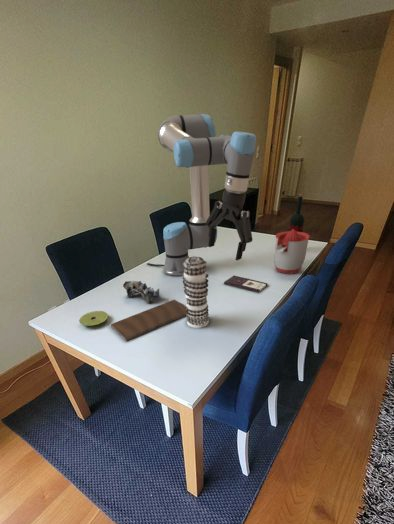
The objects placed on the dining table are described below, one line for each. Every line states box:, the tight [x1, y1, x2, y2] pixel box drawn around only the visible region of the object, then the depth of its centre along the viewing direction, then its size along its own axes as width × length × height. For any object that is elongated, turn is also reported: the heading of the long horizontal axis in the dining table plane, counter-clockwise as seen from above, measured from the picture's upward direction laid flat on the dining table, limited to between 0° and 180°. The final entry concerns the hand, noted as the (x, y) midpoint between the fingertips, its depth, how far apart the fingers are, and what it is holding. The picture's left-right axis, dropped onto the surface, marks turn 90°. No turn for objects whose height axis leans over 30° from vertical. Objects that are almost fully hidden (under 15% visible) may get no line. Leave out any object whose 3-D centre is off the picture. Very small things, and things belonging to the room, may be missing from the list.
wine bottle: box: [287, 193, 305, 232], centre depth 161 cm, size 8×10×30 cm
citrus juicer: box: [273, 229, 310, 275], centre depth 143 cm, size 16×17×20 cm
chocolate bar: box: [223, 275, 268, 293], centre depth 138 cm, size 9×1×18 cm
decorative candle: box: [181, 256, 210, 328], centre depth 106 cm, size 9×9×25 cm
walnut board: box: [110, 299, 187, 342], centre depth 116 cm, size 30×13×1 cm, turn 128°
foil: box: [122, 280, 160, 304], centre depth 131 cm, size 12×11×15 cm
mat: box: [78, 310, 109, 327], centre depth 117 cm, size 11×11×2 cm
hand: (224, 252), depth 110 cm, fingers open, 13 cm apart
